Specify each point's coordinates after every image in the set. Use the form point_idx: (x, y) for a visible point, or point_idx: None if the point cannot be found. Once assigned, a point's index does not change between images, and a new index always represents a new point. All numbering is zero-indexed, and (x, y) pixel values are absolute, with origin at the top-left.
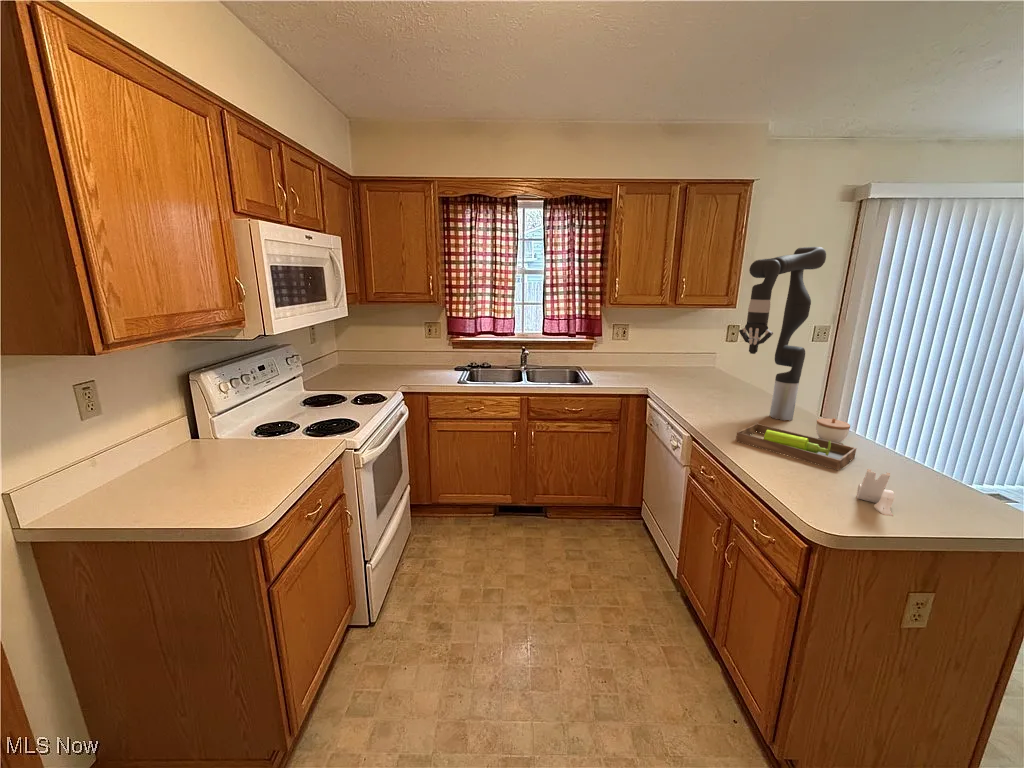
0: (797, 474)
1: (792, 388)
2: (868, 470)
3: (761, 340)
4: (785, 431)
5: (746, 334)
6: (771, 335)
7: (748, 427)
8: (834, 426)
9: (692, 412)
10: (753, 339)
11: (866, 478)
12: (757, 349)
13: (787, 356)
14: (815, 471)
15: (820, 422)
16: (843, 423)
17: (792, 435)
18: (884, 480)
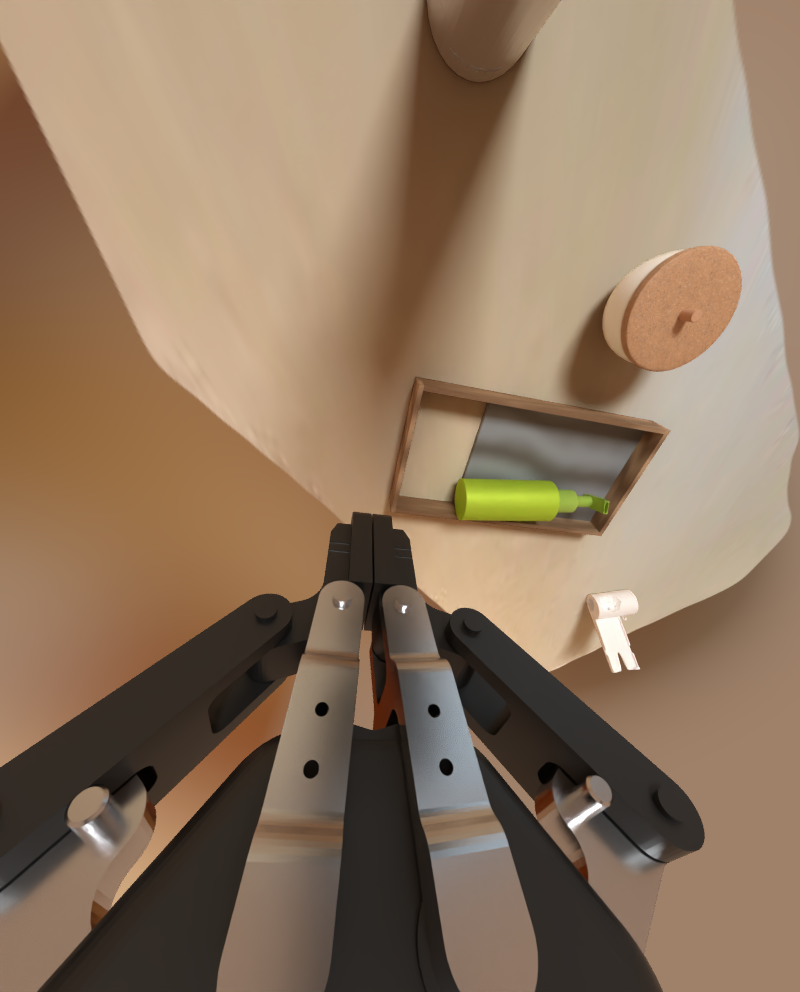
0: (516, 579)
1: None
2: (613, 672)
3: (469, 704)
4: (506, 405)
5: (170, 737)
6: (641, 760)
7: (406, 449)
8: (666, 369)
9: (136, 287)
10: (340, 653)
11: (606, 654)
12: (410, 555)
13: None
14: (547, 551)
15: (631, 352)
16: (718, 307)
17: (525, 512)
18: (628, 655)
